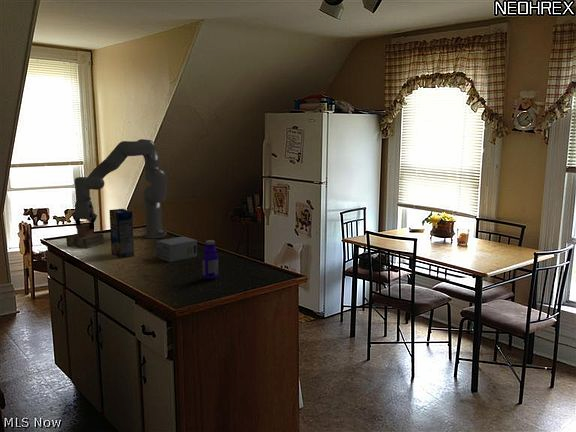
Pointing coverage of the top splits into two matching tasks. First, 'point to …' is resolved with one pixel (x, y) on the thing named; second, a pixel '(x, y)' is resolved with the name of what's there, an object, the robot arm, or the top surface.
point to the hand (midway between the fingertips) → (85, 228)
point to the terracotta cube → (84, 230)
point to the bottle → (210, 261)
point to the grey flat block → (85, 241)
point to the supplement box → (176, 249)
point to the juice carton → (121, 233)
